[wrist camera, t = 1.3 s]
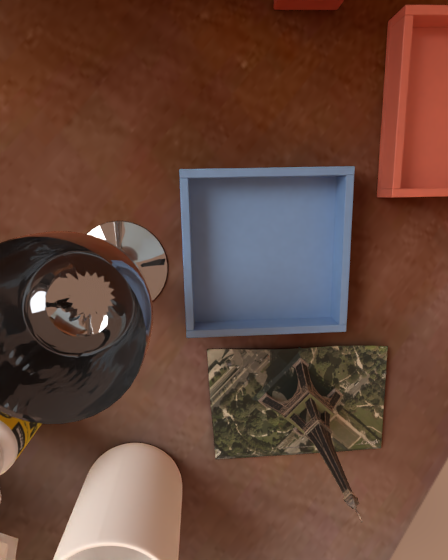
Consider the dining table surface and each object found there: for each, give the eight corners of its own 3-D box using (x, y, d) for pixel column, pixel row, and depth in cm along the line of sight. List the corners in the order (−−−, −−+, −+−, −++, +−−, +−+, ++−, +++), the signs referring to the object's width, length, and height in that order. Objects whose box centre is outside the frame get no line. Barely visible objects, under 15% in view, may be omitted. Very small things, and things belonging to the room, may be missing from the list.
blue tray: (180, 171, 29) (179, 169, 26) (342, 168, 29) (354, 166, 27) (187, 327, 31) (186, 338, 29) (335, 321, 32) (346, 332, 30)
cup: (175, 432, 33) (164, 532, 24) (195, 546, 36) (193, 679, 26) (79, 446, 33) (27, 554, 23) (106, 560, 36) (70, 699, 26)
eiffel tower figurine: (212, 457, 34) (219, 618, 21) (206, 349, 32) (211, 454, 19) (379, 445, 35) (485, 594, 22) (384, 338, 33) (506, 434, 20)
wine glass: (49, 241, 29) (-101, 287, 15) (144, 198, 29) (88, 201, 14) (99, 331, 31) (9, 453, 16) (189, 291, 31) (179, 378, 16)
